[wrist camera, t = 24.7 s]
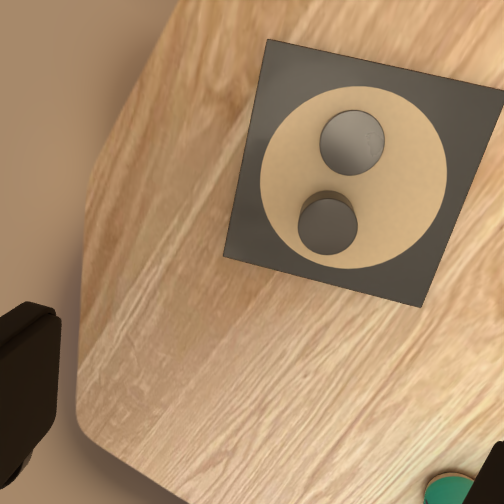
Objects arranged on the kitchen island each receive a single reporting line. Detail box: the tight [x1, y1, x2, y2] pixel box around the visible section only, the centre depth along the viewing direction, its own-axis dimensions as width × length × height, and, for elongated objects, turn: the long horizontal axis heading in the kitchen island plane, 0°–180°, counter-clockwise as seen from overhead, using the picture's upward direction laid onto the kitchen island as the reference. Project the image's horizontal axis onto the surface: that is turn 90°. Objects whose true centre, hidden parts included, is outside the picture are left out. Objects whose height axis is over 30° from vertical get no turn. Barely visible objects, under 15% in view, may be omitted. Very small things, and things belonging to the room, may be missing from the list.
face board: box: [223, 39, 504, 308], centre depth 30 cm, size 16×16×1 cm
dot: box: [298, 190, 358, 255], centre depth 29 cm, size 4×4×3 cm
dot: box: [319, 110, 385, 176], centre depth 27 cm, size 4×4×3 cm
